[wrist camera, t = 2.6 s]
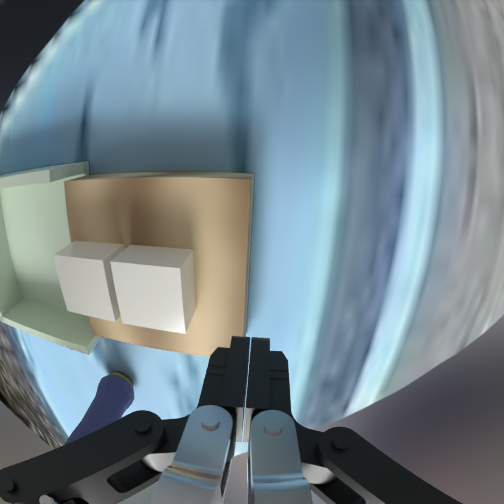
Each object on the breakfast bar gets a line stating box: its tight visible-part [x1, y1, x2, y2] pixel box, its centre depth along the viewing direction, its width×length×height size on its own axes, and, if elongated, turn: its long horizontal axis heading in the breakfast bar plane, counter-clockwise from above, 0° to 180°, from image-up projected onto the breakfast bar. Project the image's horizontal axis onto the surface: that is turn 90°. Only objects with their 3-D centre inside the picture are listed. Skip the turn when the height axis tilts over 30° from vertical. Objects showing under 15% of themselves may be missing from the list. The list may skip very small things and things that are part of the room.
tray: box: [0, 161, 102, 355], centre depth 18 cm, size 13×14×4 cm
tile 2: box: [53, 241, 124, 322], centre depth 15 cm, size 4×4×2 cm
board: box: [64, 171, 254, 357], centre depth 18 cm, size 12×12×3 cm
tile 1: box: [110, 245, 196, 334], centre depth 15 cm, size 4×4×2 cm
